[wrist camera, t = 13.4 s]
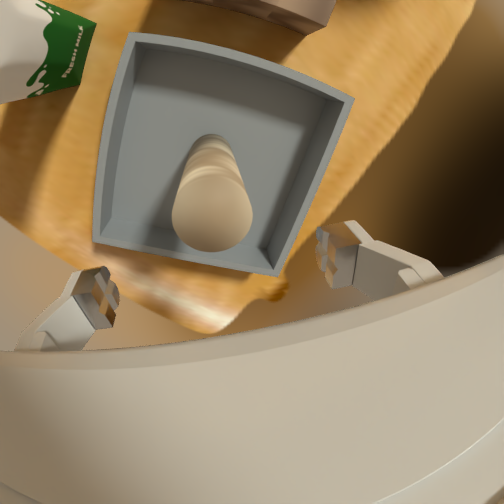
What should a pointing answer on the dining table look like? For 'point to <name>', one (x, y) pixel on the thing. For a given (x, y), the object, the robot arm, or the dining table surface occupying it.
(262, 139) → the tray
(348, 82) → the dining table surface
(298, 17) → the socket block
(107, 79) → the dining table surface
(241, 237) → the dowel
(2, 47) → the milk carton
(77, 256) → the dining table surface
